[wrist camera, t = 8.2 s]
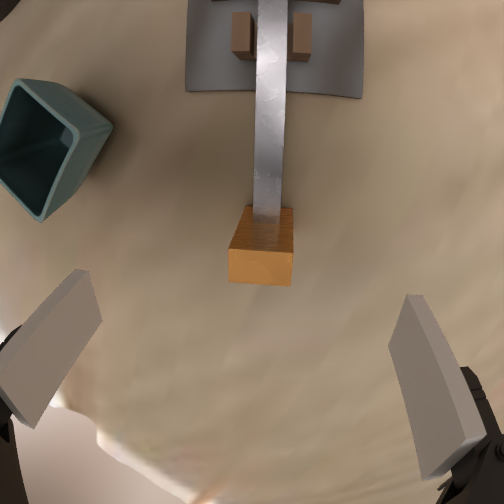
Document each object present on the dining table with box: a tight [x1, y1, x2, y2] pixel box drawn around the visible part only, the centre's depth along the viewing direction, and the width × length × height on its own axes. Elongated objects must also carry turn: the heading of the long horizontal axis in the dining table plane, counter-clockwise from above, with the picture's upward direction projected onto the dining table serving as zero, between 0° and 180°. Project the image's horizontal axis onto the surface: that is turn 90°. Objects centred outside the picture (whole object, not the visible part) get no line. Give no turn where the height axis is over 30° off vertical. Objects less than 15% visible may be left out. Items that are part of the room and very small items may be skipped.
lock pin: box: [228, 0, 293, 286], centre depth 20 cm, size 4×20×9 cm, turn 179°
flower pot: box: [0, 78, 113, 223], centre depth 22 cm, size 9×9×9 cm
